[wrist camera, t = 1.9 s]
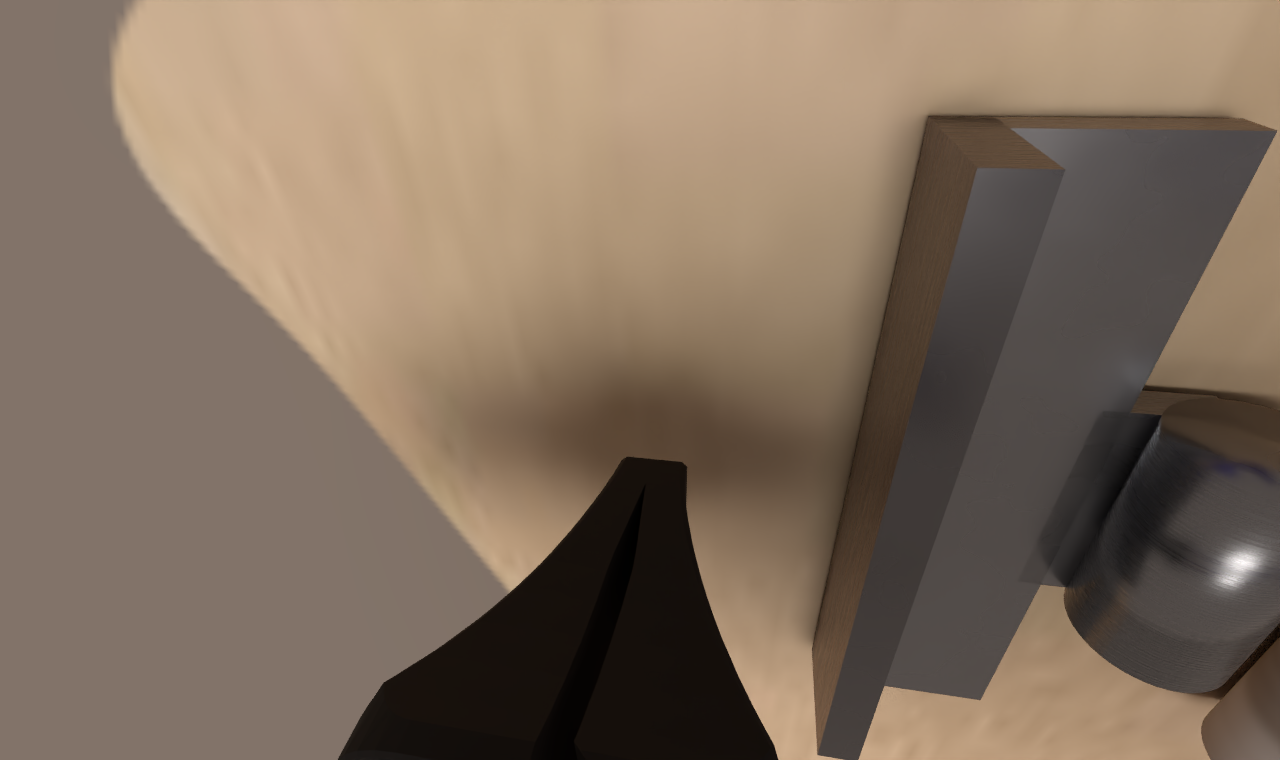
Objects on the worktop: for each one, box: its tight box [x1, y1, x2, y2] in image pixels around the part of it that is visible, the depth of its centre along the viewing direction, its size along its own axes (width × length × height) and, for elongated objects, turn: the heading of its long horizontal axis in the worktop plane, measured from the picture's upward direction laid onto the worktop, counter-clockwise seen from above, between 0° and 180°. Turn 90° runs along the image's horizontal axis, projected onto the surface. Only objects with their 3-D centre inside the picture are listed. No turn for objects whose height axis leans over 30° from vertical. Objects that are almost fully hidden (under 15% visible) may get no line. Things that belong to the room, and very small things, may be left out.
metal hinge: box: [812, 116, 1280, 760], centre depth 12 cm, size 8×15×3 cm, turn 1°
